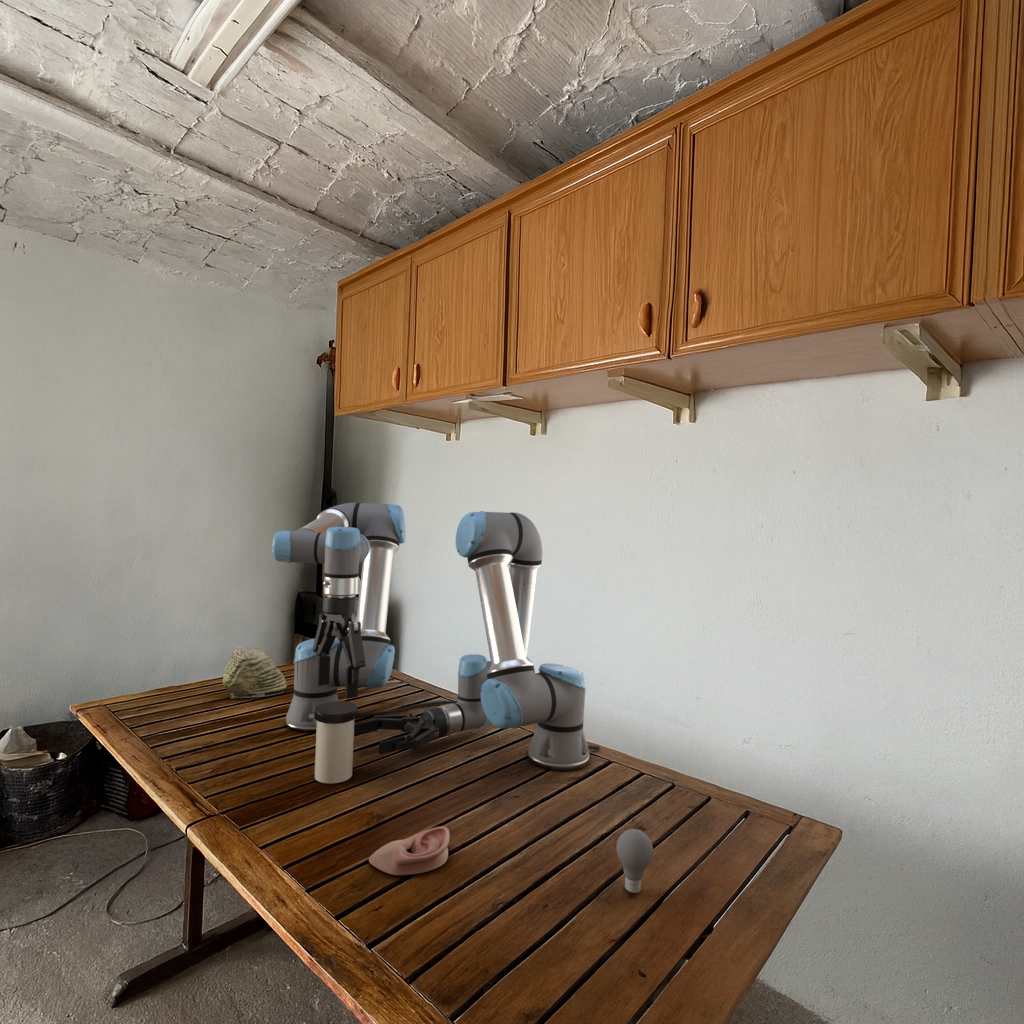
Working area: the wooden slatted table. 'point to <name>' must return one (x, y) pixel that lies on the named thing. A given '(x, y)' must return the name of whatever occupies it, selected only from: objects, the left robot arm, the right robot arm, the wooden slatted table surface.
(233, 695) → the fossil
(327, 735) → the jar
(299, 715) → the left robot arm
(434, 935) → the wooden slatted table surface
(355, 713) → the lid
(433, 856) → the anatomical model
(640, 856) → the light bulb
